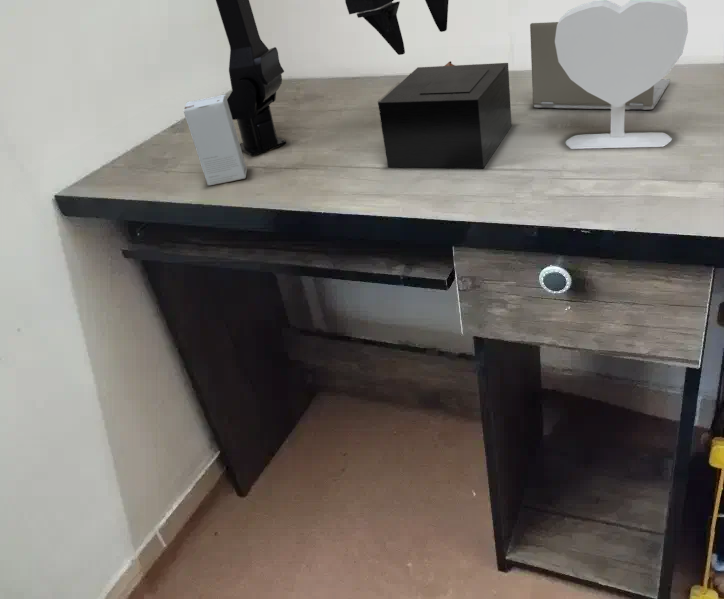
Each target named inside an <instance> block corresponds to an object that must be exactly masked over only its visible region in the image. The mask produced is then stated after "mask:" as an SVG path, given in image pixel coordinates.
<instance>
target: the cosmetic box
mask: <svg viewBox="0 0 724 599" xmlns="http://www.w3.org/2000/svg"><path fill="white" fill-rule="evenodd" d="M227 99H228V97H227V95H226V94H221V95H215V96H210V97H204V98H201V99H196V100H195V99H194V100H190V101H187V102H186V103H185V105H184V108H183V111H182V112H183V114H184V117H185V120H186V123H187V126H188V129H189V133H190V135H191V138H192V142H193V144H194V148H195V150H196V154H197V157H198V160H199V163H200V166H201V169H202V172H203V176H204V178H205V182H206V185H207V186H215V185H220V184H224V183H229V182H234V181H239V180H244V179H246V178H247V171H248V168H247V164H246V162H245V158H244V154H243V151H242V150H241V147H240V144H241V143H240V140H239V136H238V133H237V129H236V127H235V122H234V120H233V119H232V115H231V112H230V109H229V105H228V101H227Z"/></svg>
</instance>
